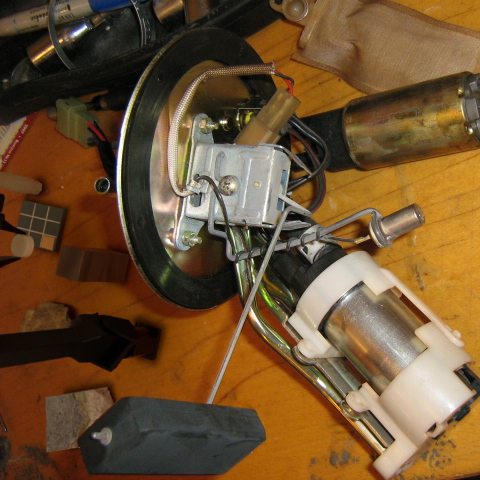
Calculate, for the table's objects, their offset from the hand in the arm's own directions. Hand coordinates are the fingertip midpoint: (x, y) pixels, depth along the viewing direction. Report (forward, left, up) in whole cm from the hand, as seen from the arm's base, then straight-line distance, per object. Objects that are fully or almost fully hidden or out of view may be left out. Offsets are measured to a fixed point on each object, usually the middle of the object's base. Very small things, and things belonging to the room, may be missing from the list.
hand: (22, 245), depth 90 cm
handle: (+18, -12, -14) cm, 25 cm away
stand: (-11, +1, -13) cm, 17 cm away
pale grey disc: (0, 0, -1) cm, 1 cm away
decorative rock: (+3, +18, -14) cm, 23 cm away
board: (+14, -3, -13) cm, 19 cm away
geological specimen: (-13, +33, -14) cm, 38 cm away
